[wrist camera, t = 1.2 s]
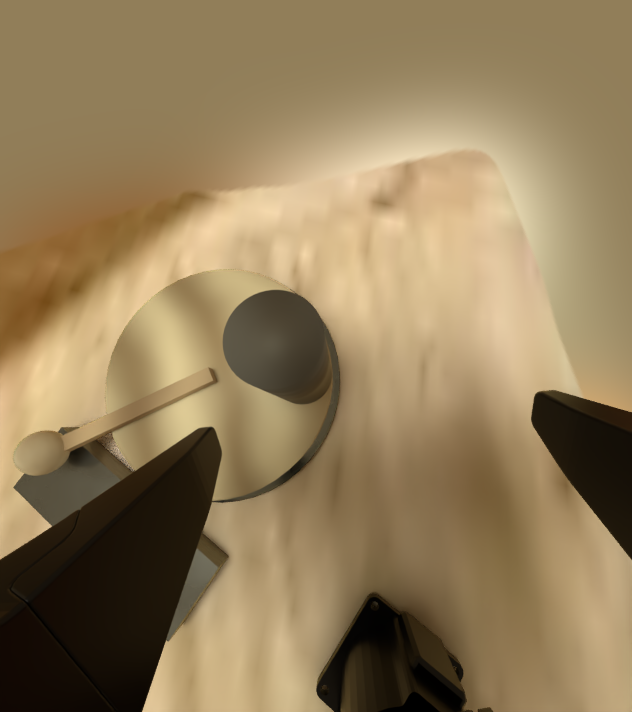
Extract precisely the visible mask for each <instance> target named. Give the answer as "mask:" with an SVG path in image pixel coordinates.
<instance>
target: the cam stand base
mask: <svg viewBox="0 0 632 712" xmlns="http://www.w3.org/2000/svg"><path fill="white" fill-rule="evenodd" d="M291 291H292V290H291ZM293 292H294V291H293ZM294 293H295V292H294ZM295 294H296V293H295ZM320 319H321V318H320ZM321 321H322V319H321ZM322 324H323V328H324V333H325V338H326V341H327V344H328V348H329V352H330V357H331V364H332V372H333V377H332V393H331V400H330V405H329V408H328V412H327V416H326V418H325V421H324V423H323V425H322V428H321V430H320V432H319V434H318V435H317V437H316V439H315V440H314V442H313V444H312V445H311V446H310V448H309V449H308V450H307V452H306V453H305V454H304V455H303V457H302V458H301V459H300V460H299V461H298V462H297V463H296V464H295V465H294V466H293V467H292V468H290V469H289V470H288V471H287V472H285V473H284V474H283V475H281V476H280V477H279V478H278V479H276V480H275V481H273V482H272V483H270V484H268V485H266V486H265V487H263V488H261V489H259V490H257V491H254V492H252V493H249V494H247V495H244V496H240V497H236V498H232V499H227V500H217V501H212V502H222V503H223V502H233V501H240V500H244V499H248V498H253V497H256V496H258V495H261V494H263V493H266V492H268V491H270V490H272V489H274V488H276V487H277V486H279V485H281V484H283V483H284V482H286V481H287V480H288V479H289V478H291V477H292V476H293V475H295V474H296V473H297V472H298V471H299V470H300V469H301V468H302V467H303V466H304V465H305V464H306V463H307V462H308V461H309V460H310V459H311V458H312V456H313V455H314V454H315V452H316V451H317V450H318V449H319V447H320V446H321V444H322V442H323V440H324V439H325V437H326V435H327V434H328V431H329V429H330V426H331V424H332V422H333V419H334V416H335V412H336V408H337V405H338V397H339V390H340V372H339V365H338V357H337V354H336V350H335V346H334V343H333V341H332V338H331V336H330V333H329V331H328V329H327V328H326V326H325V324H324V322H323V321H322ZM78 428H80V427H62V428H61V429H60V430H59V431H58V433H61V434H62V435H65V434H67V433H69V432H72V431H74V430H76V429H78ZM131 473H133V472H132V471H130V470H129V469H128V468H127V467H126V466H125V465H124V464H123V463H121V462H120V461H119V460H118V459H117V458H116V457H115V456H113V455H112V454H111V453H110V452H109V451H108V450H107V449H105V448H104V447H103V446H102V445H101V444H100V443H99V442H97V441H96V440H94V441H92V442H90V443H87V444H85V445H83V446H81V447H79V448H77V449H75V450H73V451H71V452H70V455H69V457H68V459H67V461H66V462H65V463H64V464H63V465H62V466H61V467H60V468H58V469H57V470H55V471H53V472H51V473H49V474H45V475H39V476H33V475H28V474H24V475H23V476H22V477H21V478H20V480H19V481H18V482H17V483H16V485H15V486H14V488H15V489H16V490H17V491H18V492H19V493H20V494H21V495H22V496H23V497H24V498H25V499H26V500H27V501H28V502H29V503H30V504H31V505H32V506H33V507H34V508H35V509H36V510H37V511H38V512H39V513H40V514H41V515H42V516H43V517H44V518H45V519H46V520H47V521H48V522H49V523H50V524H51V525H52V526H54V525H55V524H57V523H58V522H60V521H61V520H63V519H64V518H66V517H67V516H69V515H70V514H72V513H73V512H75V511H76V510H78V509H81V507H82V506H84V505H85V504H87V503H88V502H90V501H91V500H93V499H94V498H96V497H97V496H99V495H100V494H102V493H103V492H104V491H106V490H107V489H109V488H110V487H112V486H113V485H115V484H116V483H118V482H119V481H121V480H122V479H124V478H125V477H127V476H128V475H130V474H131ZM227 558H228V556H227V555H226V554H225V553H224V552H223V551H222V550H220V549H219V548H218V547H217V546H216V545H215V544H214V543H212V542H211V541H210V540H209V539H208V538H207V537H206V536H204V535H203V534H201V537H200V540H199V543H198V546H197V549H196V552H195V555H194V558H193V561H192V564H191V567H190V570H189V573H188V576H187V579H186V582H185V585H184V588H183V591H182V594H181V597H180V600H179V603H178V606H177V609H176V612H175V615H174V618H173V621H172V624H171V627H170V630H169V633H168V636H167V639H166V640H167V641H169V640H170V639H171V638H172V637H173V635H174V634H175V633H176V632H177V630H178V629H179V628H180V627H181V625H182V624H183V623H184V621H185V620H186V618H187V617H188V615H189V614H190V612H191V611H192V609H193V608H194V606H195V605H196V603H197V602H198V600H199V599H200V598H201V596H202V595H203V593H204V592H205V590H206V589H207V587H208V586H209V584H210V583H211V581H212V580H213V578H214V577H215V575H216V574H217V572H218V571H219V570H220V568H221V567H222V565H223V564H224V562H225V561H226V559H227Z"/></svg>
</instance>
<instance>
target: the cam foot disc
mask: <svg viewBox="0 0 632 712" xmlns="http://www.w3.org/2000/svg"><path fill="white" fill-rule="evenodd" d="M332 377H333V372H332V364H331V357H330V352H329V348H328V344H327V341H326V338H325V333H324V328H323V324H322V321H321V319H320V316H319V314H318V313H317V311H316V309H315V308H314V307H313V306H312V305H311V304H310V303H309V302H308V301H307V300H306V299H304V298H303V297H301V296H299V295H298V294H295V293H294V292H293V291H291V290H290V289H289V288H287V287H286V286H284V285H283V284H281V283H279V282H277V281H275V280H273V279H272V278H269V277H266V276H264V275H261V274H258V273H254V272H249V271H244V270H234V269H224V270H213V271H206V272H202V273H198V274H194V275H191V276H188V277H186V278H183V279H181V280H178V281H177V282H175V283H173V284H171V285H169V286H167V287H166V288H164V289H163V290H161V291H160V292H158V293H157V294H156V295H154V296H153V297H152V298H151V299H150V300H148V301H147V302H146V303H145V304H144V305H143V306H142V307H141V308H140V309H139V310H138V311H137V313H136V314H135V315H134V316H133V317H132V319H131V320H130V321H129V323H128V324H127V326H126V327H125V329H124V330H123V332H122V334H121V336H120V337H119V339H118V341H117V344H116V346H115V348H114V351H113V353H112V356H111V360H110V363H109V366H108V372H107V377H106V387H105V402H106V413H107V415H105V416H103V417H101V418H99V419H97V420H95V421H93V422H91V423H88V424H86V425H84V426H82V427H80V428H78V429H76V430H74V431H72V432H69V433H67V434H65V435H62V434H61V433H58V432H55V431H40V432H36V433H33V434H31V435H29V436H27V437H26V438H24V439H23V440H22V441H21V442H20V443H19V444H18V445H17V447H16V448H15V451H14V454H13V461H14V464H15V466H16V468H17V469H18V470H20V471H21V472H23V473H25V474H28V475H33V476H39V475H45V474H49V473H51V472H53V471H55V470H57V469H58V468H60V467H61V466H62V465H63V464H64V463H65V462H66V461H67V459H68V457H69V455H70V452H71V451H73V450H75V449H77V448H79V447H81V446H83V445H85V444H87V443H90V442H92V441H94V440H96V439H98V438H100V437H102V436H104V435H106V434H108V433H111V432H112V435H113V438H114V440H115V442H116V444H117V446H118V448H119V450H120V452H121V453H122V455H123V456H124V457H125V459H126V460H127V462H128V463H129V464H130V466H131V467H132V468H133V469H134V470H135V471H136V470H137V469H139V468H140V467H142V466H143V465H145V464H146V463H147V462H149V461H150V460H152V459H153V458H155V457H156V456H158V455H159V454H161V453H162V452H164V451H165V450H167V449H168V448H170V447H171V446H173V445H174V444H176V443H177V442H179V441H180V440H182V439H183V438H185V437H186V436H188V435H189V434H190V433H192V432H193V431H195V430H196V429H198V428H201V427H213V428H214V429H215V431H216V433H217V436H218V439H219V443H220V446H221V449H222V458H221V463H220V467H219V472H218V477H217V481H216V486H215V490H214V495H213V499H212V501H217V500H227V499H232V498H236V497H240V496H244V495H247V494H249V493H252V492H254V491H257V490H259V489H261V488H263V487H265V486H266V485H268V484H270V483H272V482H273V481H275V480H276V479H278V478H279V477H280V476H281V475H283V474H284V473H285V472H287V471H288V470H289V469H290V468H292V467H293V466H294V465H295V464H296V463H297V462H298V461H299V460H300V459H301V458H302V457H303V455H304V454H305V453H306V452H307V450H308V449H309V448H310V446H311V445H312V444H313V442H314V440H315V439H316V437H317V435H318V434H319V432H320V430H321V428H322V425H323V423H324V421H325V418H326V416H327V412H328V408H329V405H330V400H331V393H332Z"/></svg>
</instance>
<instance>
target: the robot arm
mask: <svg viewBox="0 0 632 712" xmlns="http://www.w3.org/2000/svg"><path fill="white" fill-rule="evenodd" d="M531 421H532V424H533V427H534V428H535V430H536V431H537V433H538V435H539V436H540V438H541V439H542V441H543V442H544V444H545V445H546V447H547V449H548V450H549V452H550V453H551V455H552V456H553V458H554V459H555V461H556V463H557V464H558V466H559V467H560V469H561V470H562V472H563V473H564V474H565V476H566V477H567V479H568V480H569V481H570V483H571V484H572V485H573V486H574V488H575V489H576V490H577V491H578V493H579V494H580V495H581V496H582V498H583V499H584V500H585V502H586V503H587V504H588V505H589V507H590V508H591V509H592V510H593V512H594V513H595V514H596V515H597V517H598V518H599V519H600V520H601V522H602V523H603V524H604V525H605V527H606V528H607V529H608V531H609V532H610V533H611V534H612V536H613V537H614V538H615V539H616V541H617V542H618V543H619V544H620V546H621V547H622V548H623V549H624V551H625V552H626V553H627V554H628V556H629V557H630V558H631V560H632V412H628V411H625V410H621V409H618V408H614V407H611V406H608V405H604V404H601V403H597V402H594V401H590V400H587V399H583V398H580V397H576V396H573V395H569V394H566V393H563V392H559V391H555V390H549V391H540V392H537V393H536V394H535V396H534V402H533V409H532V415H531ZM221 458H222V449H221V446H220V443H219V439H218V436H217V433H216V431H215V429H214V428H213V427H201V428H198V429H196V430H195V431H193V432H192V433H190V434H189V435H188V436H186V437H185V438H183V439H182V440H180V441H179V442H177V443H176V444H174V445H173V446H171V447H170V448H168V449H167V450H165V451H164V452H162V453H161V454H159V455H158V456H156V457H155V458H153V459H152V460H150V461H149V462H147V463H146V464H145V465H143V466H142V467H140V468H139V469H137V470H136V471H134V472H133V473H131V474H130V475H128V476H127V477H125V478H124V479H122V480H121V481H119V482H118V483H116V484H115V485H113V486H112V487H110V488H109V489H107V490H106V491H104V492H103V493H102V494H100V495H99V496H97V497H96V498H94V499H93V500H91V501H90V502H88V503H87V504H85V505H84V506H82V507H81V509H78V510H76V511H75V512H73V513H72V514H70V515H69V516H67V517H66V518H64V519H63V520H61V521H60V522H58V523H57V524H55V525H54V526H52V527H51V528H49V529H48V530H46V531H45V532H43V533H42V534H40V535H39V536H37V537H36V538H34V539H32V540H31V541H29V542H28V543H26V544H24V545H23V546H21V547H20V548H18V549H16V550H15V551H13V552H12V553H10V554H8V555H7V556H5V557H4V558H2V559H0V712H142V710H143V707H144V704H145V701H146V698H147V695H148V692H149V689H150V686H151V683H152V680H153V677H154V674H155V672H156V669H157V666H158V663H159V660H160V657H161V654H162V651H163V648H164V645H165V642H166V639H167V636H168V633H169V630H170V627H171V624H172V621H173V618H174V615H175V612H176V609H177V606H178V603H179V600H180V597H181V594H182V591H183V588H184V585H185V582H186V579H187V576H188V573H189V570H190V567H191V564H192V561H193V558H194V555H195V552H196V549H197V546H198V543H199V540H200V537H201V534H202V531H203V528H204V525H205V522H206V519H207V516H208V513H209V510H210V507H211V503H212V499H213V495H214V490H215V486H216V481H217V477H218V472H219V467H220V463H221ZM374 601H375V602H377V603H378V605H377V606H376V607H373V606H371V603H372V602H374ZM453 666H455V667H457V668H456V670H454V668H453ZM462 677H463V669H462V667H461V664H460V662H459V661H458V660H457V659H456V658H455V657H454V656H453V655H451V654H450V653H449V652H448V651H447V650H445V648H444V646H443V644H442V641H441V640H440V639H439V638H438V637H437V636H436V635H434V634H433V633H432V632H431V631H429V630H428V629H427V628H426V627H425V626H423V625H422V624H421V623H420V622H418V621H417V620H416V619H415V618H413V617H412V616H411V615H410V614H408V613H407V612H401V613H400V612H398V611H397V610H396V609H395V608H394V607H392V606H391V605H390V604H389V603H387V602H386V601H385V600H384V599H382V598H381V597H380V596H379V595H377V594H370V595H369V596H368V597H367V599H366V600H365V602H364V604H363V605H362V607H361V609H360V610H359V612H358V613H357V615H356V617H355V618H354V620H353V622H352V623H351V625H350V627H349V628H348V630H347V632H346V633H345V635H344V637H343V638H342V640H341V642H340V643H339V645H338V647H337V648H336V650H335V652H334V653H333V655H332V657H331V658H330V660H329V662H328V663H327V665H326V667H325V668H324V670H323V672H322V673H321V675H320V677H319V678H318V681H317V688H316V692H317V695H318V696H319V698H320V699H321V700H322V701H323V702H324V703H326V704H327V705H328V706H329V707H330V708H331V709H332V710H333V711H334V712H473V711H472V710H466V711H464V706H465V704H466V702H467V700H466V696H465V692H464V690H463V687H462V685H461V683H460V681H461V679H462ZM323 685H326V686H327V687H328V689H327V690H324V689H322V686H323ZM478 712H493V711H492V709H491V708H490V707H488V708H483V709H478Z"/></svg>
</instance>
